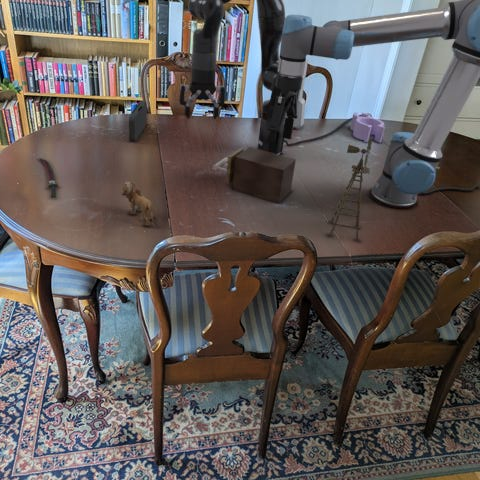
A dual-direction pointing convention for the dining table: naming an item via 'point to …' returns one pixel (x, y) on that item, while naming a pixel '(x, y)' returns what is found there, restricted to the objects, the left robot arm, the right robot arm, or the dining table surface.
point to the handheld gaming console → (137, 120)
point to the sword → (52, 181)
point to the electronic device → (300, 103)
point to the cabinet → (263, 174)
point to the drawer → (228, 165)
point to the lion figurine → (137, 201)
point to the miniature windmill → (356, 171)
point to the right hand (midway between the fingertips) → (279, 144)
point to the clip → (367, 127)
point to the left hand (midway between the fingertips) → (201, 117)
